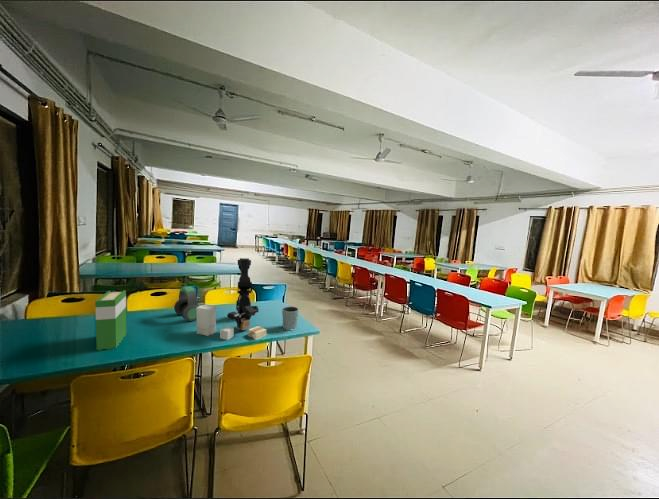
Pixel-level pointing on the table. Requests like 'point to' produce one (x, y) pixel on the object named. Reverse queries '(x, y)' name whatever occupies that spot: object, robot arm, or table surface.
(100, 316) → the hardback book
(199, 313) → the skincare box
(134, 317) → the table surface
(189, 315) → the headphones
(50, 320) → the table surface
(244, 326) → the walnut cube
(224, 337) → the grey cube
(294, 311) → the grey cup
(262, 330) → the maple block
